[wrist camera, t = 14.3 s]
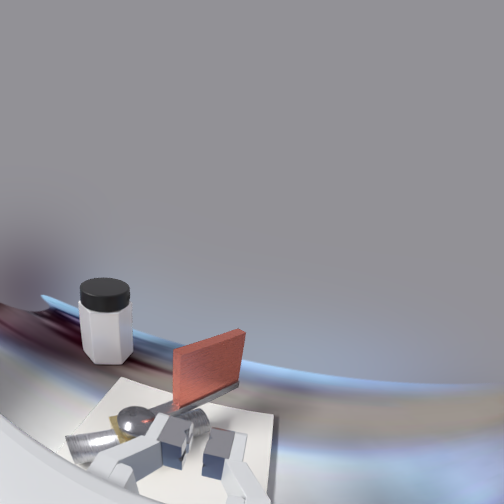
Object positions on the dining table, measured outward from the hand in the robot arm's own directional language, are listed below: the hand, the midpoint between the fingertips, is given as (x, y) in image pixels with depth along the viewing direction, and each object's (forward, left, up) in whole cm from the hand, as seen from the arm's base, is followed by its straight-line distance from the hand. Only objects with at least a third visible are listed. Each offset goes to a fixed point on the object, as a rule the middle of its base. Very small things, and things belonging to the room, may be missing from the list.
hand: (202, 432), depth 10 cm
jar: (-23, +27, -19) cm, 40 cm away
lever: (-5, +15, -14) cm, 21 cm away
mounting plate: (-6, +11, -19) cm, 22 cm away
